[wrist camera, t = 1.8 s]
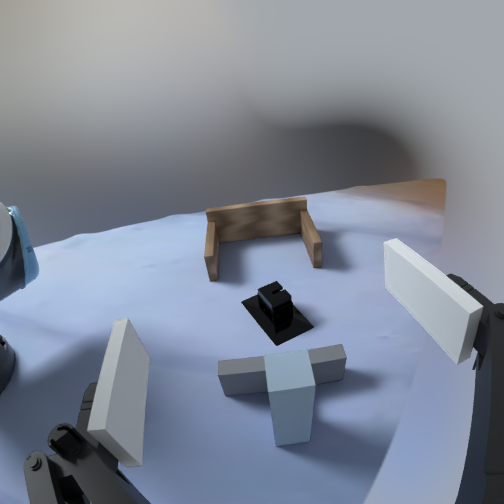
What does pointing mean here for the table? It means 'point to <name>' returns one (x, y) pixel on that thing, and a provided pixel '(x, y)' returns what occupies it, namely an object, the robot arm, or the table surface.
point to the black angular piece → (276, 313)
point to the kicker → (285, 385)
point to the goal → (259, 227)
